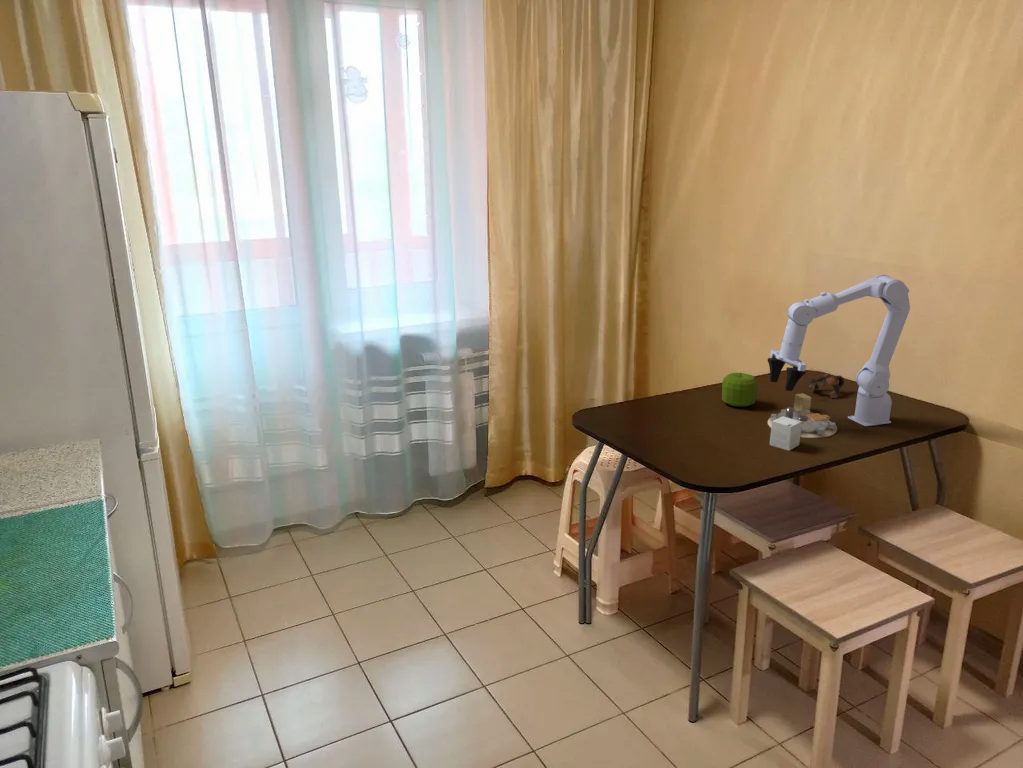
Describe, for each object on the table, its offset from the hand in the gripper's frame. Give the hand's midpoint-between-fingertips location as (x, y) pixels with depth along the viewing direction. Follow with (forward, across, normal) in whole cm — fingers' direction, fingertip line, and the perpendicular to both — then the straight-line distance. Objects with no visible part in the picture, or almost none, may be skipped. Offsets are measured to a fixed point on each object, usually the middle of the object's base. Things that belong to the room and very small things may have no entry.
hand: (780, 386), depth 225 cm
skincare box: (+12, +18, -8) cm, 23 cm away
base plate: (+10, +6, +6) cm, 13 cm away
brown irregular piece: (+8, -16, +33) cm, 37 cm away
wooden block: (+10, -5, +14) cm, 18 cm away
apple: (+13, -16, -1) cm, 21 cm away
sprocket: (+10, +6, +6) cm, 13 cm away
